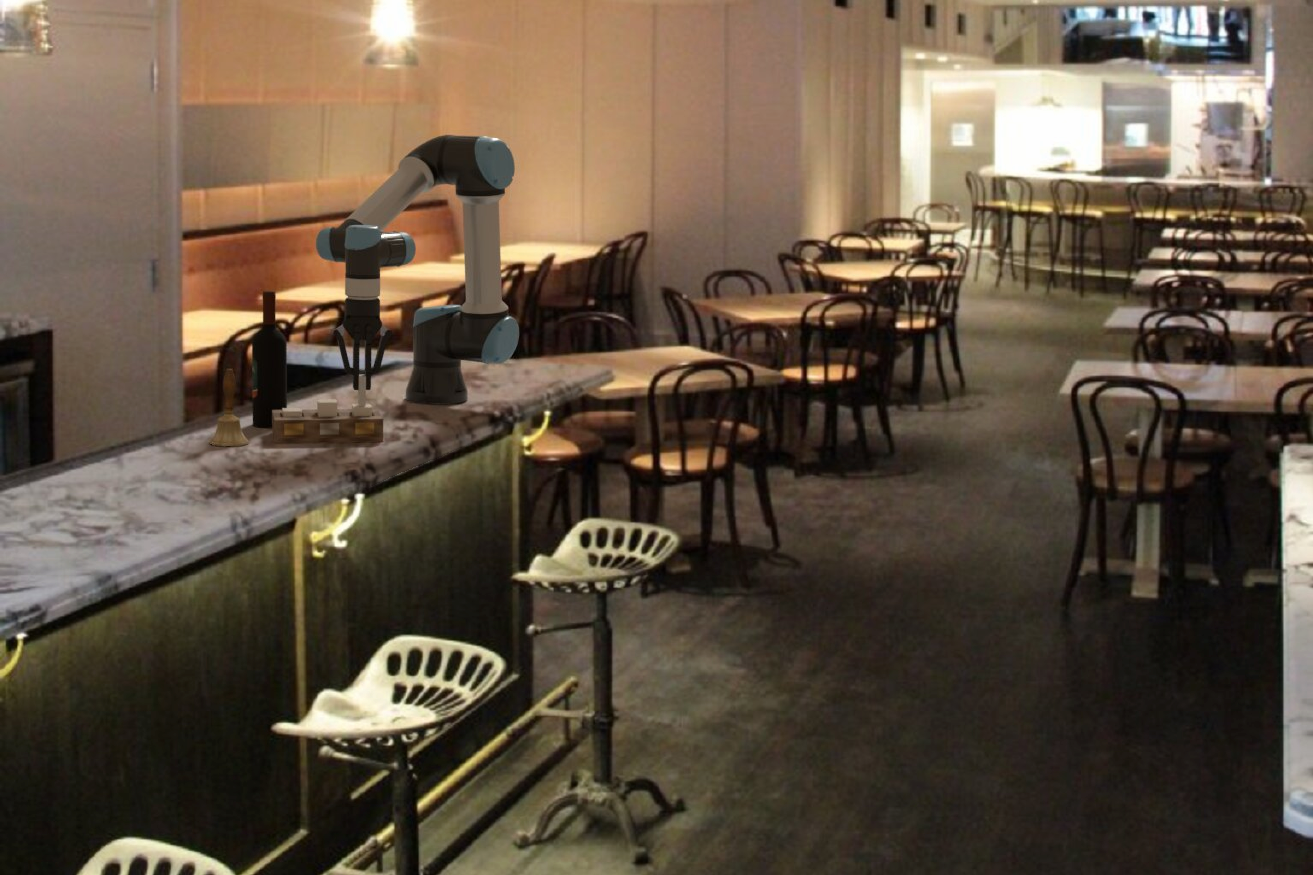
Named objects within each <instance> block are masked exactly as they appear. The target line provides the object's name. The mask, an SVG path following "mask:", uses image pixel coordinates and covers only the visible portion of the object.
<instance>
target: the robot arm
mask: <svg viewBox="0 0 1313 875" xmlns="http://www.w3.org/2000/svg"><path fill="white" fill-rule="evenodd" d="M513 156H514V155H513V153H512V150H511V148H510V147H509V146H508V145H507V143H506V142H505V141H504V140H502V139H500V138H496V137H489V136H486V135H485V136H483V135H481V136H480V135H479V136H478V135H456V134H455V135H454V134H444V135H438V136H436V137H434V138H431V139H429V140H426V141H425V142H423V143H421V144H420V145H418V146H416V148H414V149H413V150H411V151H409V153H407V154H406V155H405V156H403V158H402V159H401V160H400V162H399V163H398V166H397V170H396V171H394V173H393V174H392V175H390V176H389V177H388V178H387V180H385V181H384V182H383V183H382V185H380V186H379V187H378V188H377V189H375V191H374V192H373V193H372V194H371V195H370V196H369V197H368V198H367V199H366V200H365V201H364V202H363V203H362V204H360V205H359V206H358V207H357V208H356V209H355V210H354V211H353V212H352V213H351V214H350V215H349V216H348V217H347V218H346V219H345V220H343V222H342V223H341V224H340V225H338V226H337V227H335V226H330V227H329V226H328V227H324V228H322V229H320V231H319V232H318V233H317V236H316V240H315V248H316V252H317V254H318V256H319V257H320V258H321V259H322V260H324V261H330V262H335V263H345V265H344V266H345V273H344V275H345V276H344V278H345V279H344V280H345V281H344V295H345V296H346V298H345V299H344V318H343V320H342V322H341V325H339V326H338V327H337V328H336V327H335V328H333V329H332V334H333V335H334V337H335V338H336V340H337V344H338V348H339V351H340V356H341V361H342V364H343V368H344V369H343V370H344V371H345V373H347V374H349V375H350V374H351V375H352V388H353V390H354V391H357V404H358V405H359V406H366V404H367V399H366V398H367V395H366V394H367V391H370V390H371V388H372V377H373V375H374V374H378V373H379V372H380V370H381V367H382V362H383V359H384V356H385V352H386V347H387V343H388V341H389V339H390V337H391V336H392V334H393V331H392V330H391V329H390V328H387V327H386V326H384V325H383V322H382V319H381V300H380V298H378V297H380V296H381V268H392V267H397V268H398V267H399V268H400V267H401V266H405V265H408V264H410V263H411V262H413V260H414V257H415V255H416V249H417V248H416V243H415V240H414V239H413V237H412V235H410V234H409V233H407V232H405V231H395V230H393V231H391V232H390V231H389V232H388V231H384V230H385V229H386V228H387V227H388V226H389V225H390V224H391V223H392V222H393V221H394V220H395V219H396V218H397V217H399V215H400V214H402V212H403V211H404V210H405V209H407V207H409V205H410V204H411V203H413V202H414V200H416V198H418V196H420V195H421V194H425V193H428V192H430V191H431V190H432V189H433V188H434V187H436V186H440V185H448V186H449V185H450V186H455V187H454V188H455V196H456V197H457V198H458V199H459V200H460V201H461V202H462V203H461V204H462V224H463V225H462V229H463V251H464V252H463V254H464V257H463V258H464V281H465V284H464V285H465V301H464V303H462V305H461V304H446V305H434V306H426V307H420V308H418V309H416V310H415V312H414V315H413V325H412V329H413V338H412V339H413V344H412V345H413V346H412V348H413V349H412V350H413V354H412V355H413V356H412V357H413V358H412V359H413V362H412V365H413V366H412V369H411V374H410V377H409V380H408V382H407V386H406V389H405V400H407V401H408V402H412V403H417V404H427V405H428V404H429V405H451V404H460V403H463V402H467V401H468V398H469V397H468V393H469V392H468V388H467V385H466V382H465V378H464V375H463V372H462V361H467V362H475V363H483V364H484V365H491V364H492V365H501V364H504V363H505V362H507V361H508V360H510V358H511V357H512V355H513V354H514V352H515V351H516V349H517V346H518V343H519V339H520V338H519V337H520V327H519V324H518V322H517V320H516V319H515V318H514V317H512V316H510V315H509V306H508V305H507V304H506V303H505V302H504V301H503V300H502V299H503V298H502V296H503V295H502V269H501V268H502V266H501V265H502V264H501V263H502V262H501V261H502V260H501V257H502V256H501V232H500V231H501V227H500V224H501V223H500V200H501V199H502V198H503V197H504V196H505V194H506V188H508V187H510V185H511V184H512V183H513V180H514V179H513V177H514V176H515V169H516V168H515V160H514V157H513ZM345 331H346V332H347V334H348V335H349V337H350V338H351V339H352V367H351V365H350V360H349V356H348V353H347V349H346V348H347V347H346V344H345V340H344V338H343V337H344V336H345ZM379 331H380V333H379V334H380V340H379V343H378V347H377V352H376V355H375V358H374V361H373V362H374V363H373V366H372V343H373V342H372V341H373V339H374V338H375V337H376V336H377V334H378V332H379ZM362 340H363V341H364V373H363V374H360V346H361V344H360V343H361V342H360V341H362Z"/></svg>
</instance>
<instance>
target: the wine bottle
mask: <svg viewBox="0 0 1313 875" xmlns="http://www.w3.org/2000/svg"><path fill="white" fill-rule="evenodd" d="M261 296H262V326H261V328H260V330H258V331H257V332H256V333H255V334H254V335H253V337H252V339H251V340H252V341H251V352H252V354H251V357H252V359H251V360H252V361H251V362H252V363H251V367H252V368H251V369H252V372H251V373H252V374H251V375H252V376H251V377H252V378H251V381H252V384H251V385H252V386H251V387H252V390H251V391H252V426H253V427H255V428H259V429H260V428H261V429H272V410H282V408H288V397H287V394H288V392H287V391H288V386H287V384H288V379H287V378H288V373H287V372H288V371H287V364H288V362H287V361H288V360H287V359H288V358H287V356H288V355H287V353H288V352H287V351H288V350H287V349H288V348H287V346H288V345H287V344H288V343H287V338H286V336H285V334H283V333H282V332H281V331H280V330H279V329H278V328H277V326H276V325H277V324H276V322H277V321H276V299H277V297H276V291H275V290H274V291H272V290H265V291H262V295H261Z"/></svg>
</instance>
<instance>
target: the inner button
mask: <svg viewBox="0 0 1313 875" xmlns="http://www.w3.org/2000/svg"><path fill="white" fill-rule="evenodd" d="M351 409H352V416H372V409H373V407H372V405H371V404H370V403H366V406H359V405H358V403H351Z"/></svg>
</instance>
